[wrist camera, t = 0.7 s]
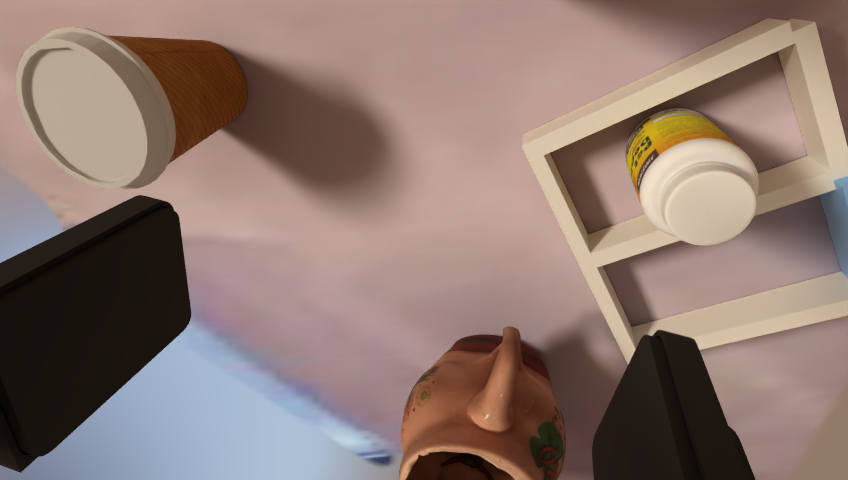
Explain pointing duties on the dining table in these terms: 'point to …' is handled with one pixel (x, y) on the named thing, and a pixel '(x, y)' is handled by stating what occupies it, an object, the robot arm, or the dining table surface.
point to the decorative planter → (483, 415)
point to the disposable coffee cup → (124, 101)
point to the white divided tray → (792, 182)
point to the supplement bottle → (691, 177)
